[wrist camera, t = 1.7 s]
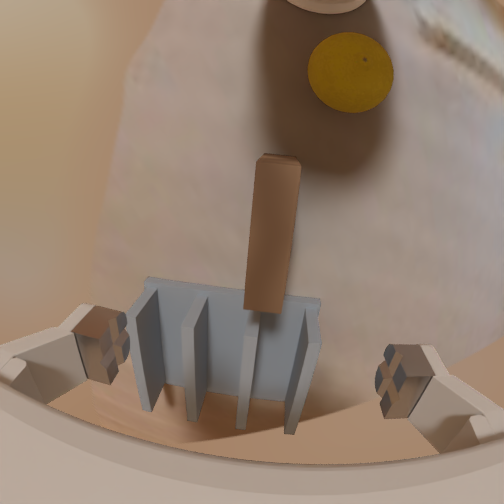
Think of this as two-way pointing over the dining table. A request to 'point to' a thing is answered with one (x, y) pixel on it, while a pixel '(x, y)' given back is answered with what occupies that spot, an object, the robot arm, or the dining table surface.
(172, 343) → the rack
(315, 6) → the jar
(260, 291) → the board
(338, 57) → the lemon
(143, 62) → the dining table surface
